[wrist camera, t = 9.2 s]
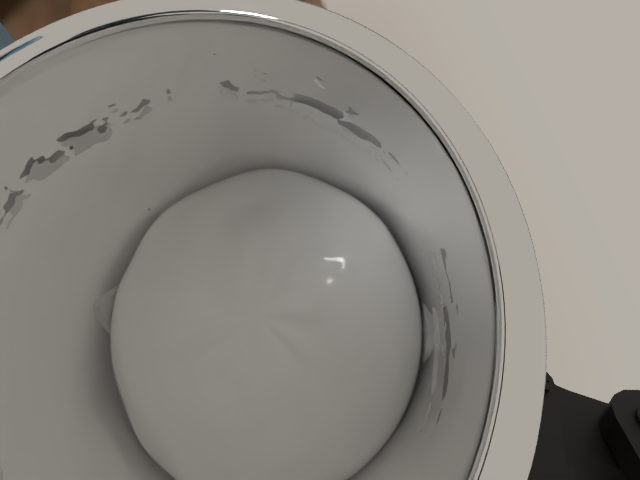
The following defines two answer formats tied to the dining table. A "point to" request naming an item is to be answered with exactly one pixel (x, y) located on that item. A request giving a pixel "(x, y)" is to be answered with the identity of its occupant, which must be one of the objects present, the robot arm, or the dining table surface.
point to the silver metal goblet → (255, 256)
